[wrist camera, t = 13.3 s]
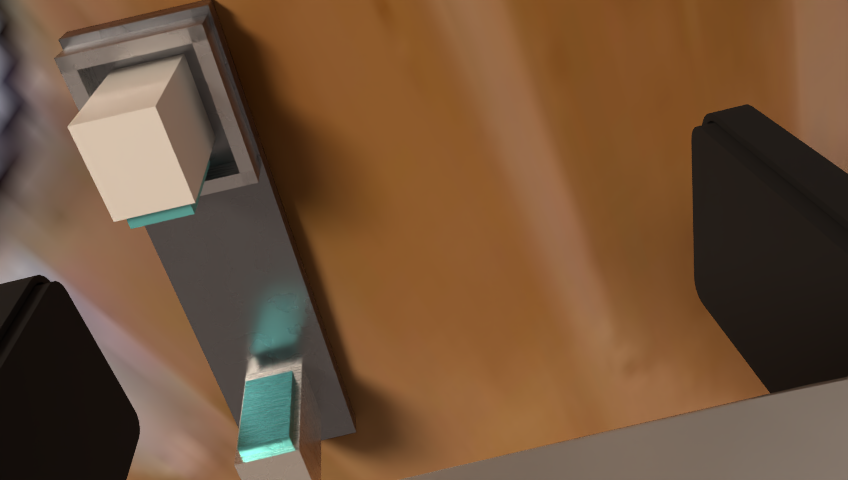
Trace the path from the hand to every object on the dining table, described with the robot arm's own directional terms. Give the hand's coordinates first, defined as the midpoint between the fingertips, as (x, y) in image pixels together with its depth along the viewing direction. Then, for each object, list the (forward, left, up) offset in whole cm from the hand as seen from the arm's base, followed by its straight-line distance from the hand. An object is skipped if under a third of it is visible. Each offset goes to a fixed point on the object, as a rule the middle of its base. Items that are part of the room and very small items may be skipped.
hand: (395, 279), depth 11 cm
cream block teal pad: (-6, +12, -31) cm, 34 cm away
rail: (-18, +12, -33) cm, 39 cm away
